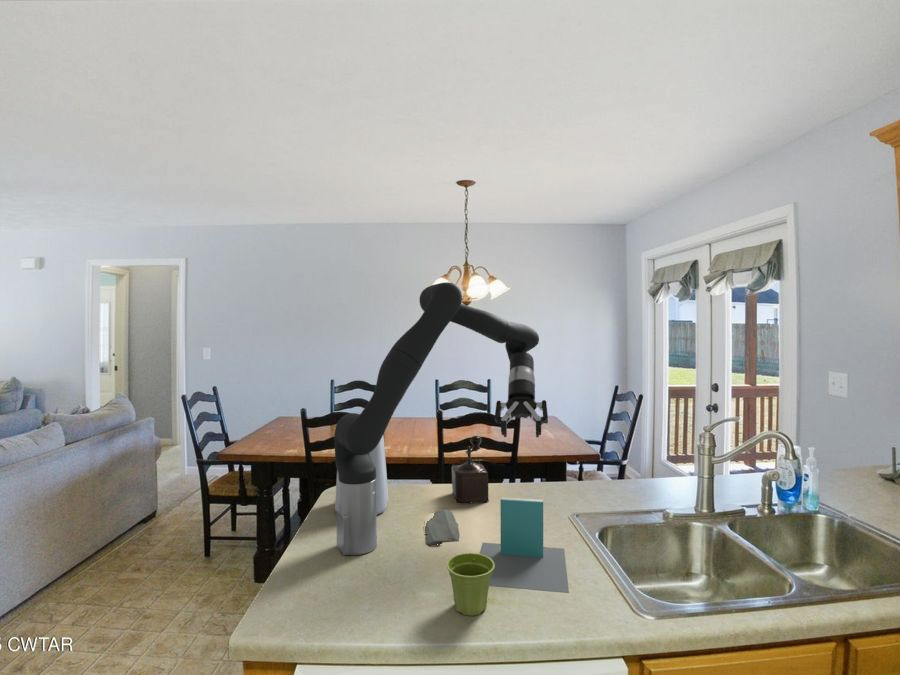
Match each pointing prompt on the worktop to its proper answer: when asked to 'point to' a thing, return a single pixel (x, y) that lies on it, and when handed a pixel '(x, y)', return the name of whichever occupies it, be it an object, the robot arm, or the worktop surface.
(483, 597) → the plant pot
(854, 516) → the worktop surface
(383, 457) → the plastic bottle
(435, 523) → the stone slab
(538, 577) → the rubber mat
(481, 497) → the brown coffee grinder
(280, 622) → the worktop surface
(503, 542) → the glazed tile
